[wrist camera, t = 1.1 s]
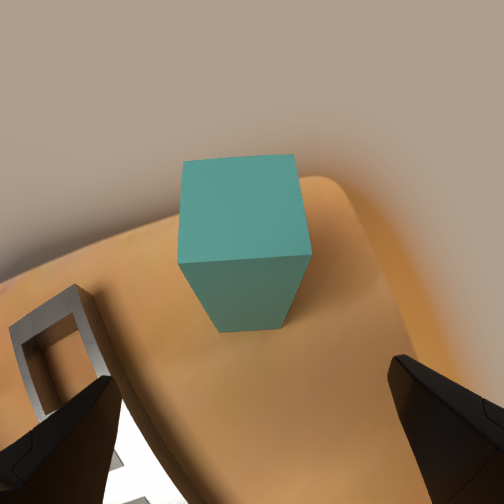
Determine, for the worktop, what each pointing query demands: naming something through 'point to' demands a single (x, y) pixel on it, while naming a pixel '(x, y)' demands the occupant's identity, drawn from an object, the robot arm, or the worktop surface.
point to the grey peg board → (132, 412)
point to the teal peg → (243, 238)
